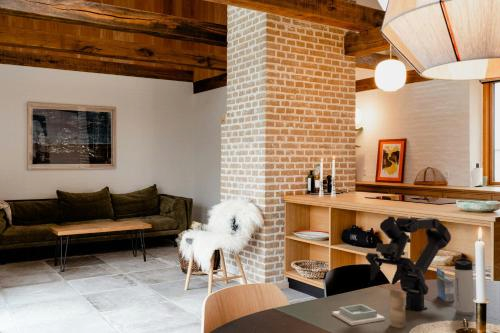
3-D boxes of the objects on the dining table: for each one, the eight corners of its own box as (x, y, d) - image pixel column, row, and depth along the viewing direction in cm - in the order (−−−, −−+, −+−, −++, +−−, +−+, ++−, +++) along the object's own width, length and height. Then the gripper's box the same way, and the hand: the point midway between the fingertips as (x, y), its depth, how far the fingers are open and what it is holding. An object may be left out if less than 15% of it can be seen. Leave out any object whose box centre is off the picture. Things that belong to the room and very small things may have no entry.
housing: (363, 309, 187) (363, 302, 187) (385, 320, 174) (384, 311, 174) (332, 314, 183) (332, 306, 183) (351, 325, 170) (351, 316, 170)
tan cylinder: (398, 322, 172) (397, 288, 172) (408, 326, 167) (407, 291, 167) (387, 324, 169) (386, 290, 169) (398, 328, 165) (396, 293, 165)
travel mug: (473, 310, 182) (471, 258, 182) (475, 316, 176) (473, 261, 176) (455, 309, 184) (453, 257, 184) (456, 314, 178) (455, 261, 178)
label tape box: (454, 301, 194) (453, 271, 194) (444, 302, 195) (443, 271, 195) (446, 295, 203) (445, 267, 203) (436, 296, 203) (435, 267, 203)
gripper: (366, 231, 184) (350, 266, 178) (408, 236, 169) (393, 274, 163) (380, 247, 189) (365, 282, 183) (422, 253, 175) (408, 290, 168)
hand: (381, 282), depth 174 cm, fingers open, 9 cm apart
